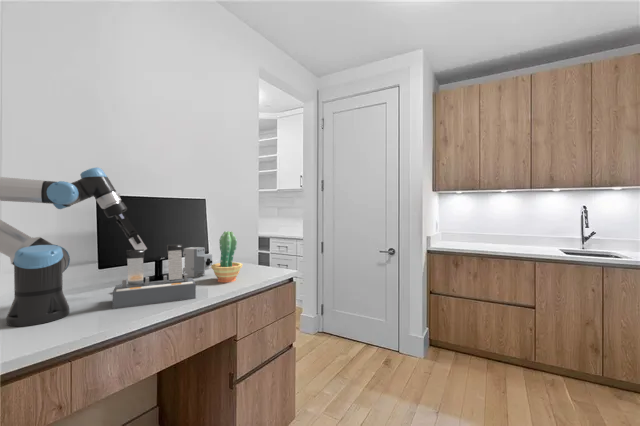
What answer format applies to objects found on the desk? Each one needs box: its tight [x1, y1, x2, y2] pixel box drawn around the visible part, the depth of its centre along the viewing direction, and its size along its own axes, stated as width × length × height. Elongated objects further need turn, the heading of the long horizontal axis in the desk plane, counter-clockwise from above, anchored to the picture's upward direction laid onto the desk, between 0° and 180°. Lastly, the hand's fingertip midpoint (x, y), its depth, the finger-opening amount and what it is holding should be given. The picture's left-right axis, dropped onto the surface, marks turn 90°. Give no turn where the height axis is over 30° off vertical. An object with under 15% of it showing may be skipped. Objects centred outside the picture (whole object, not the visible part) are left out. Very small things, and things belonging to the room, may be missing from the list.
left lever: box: [125, 249, 145, 286], centre depth 115 cm, size 6×3×15 cm, turn 119°
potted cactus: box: [211, 230, 244, 283], centre depth 155 cm, size 15×15×25 cm
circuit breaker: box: [182, 246, 214, 278], centre depth 165 cm, size 8×14×15 cm, turn 78°
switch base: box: [112, 273, 197, 310], centre depth 122 cm, size 28×12×9 cm, turn 119°
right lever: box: [166, 243, 183, 281], centre depth 128 cm, size 6×3×15 cm, turn 119°
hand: (141, 250), depth 125 cm, fingers open, 13 cm apart
